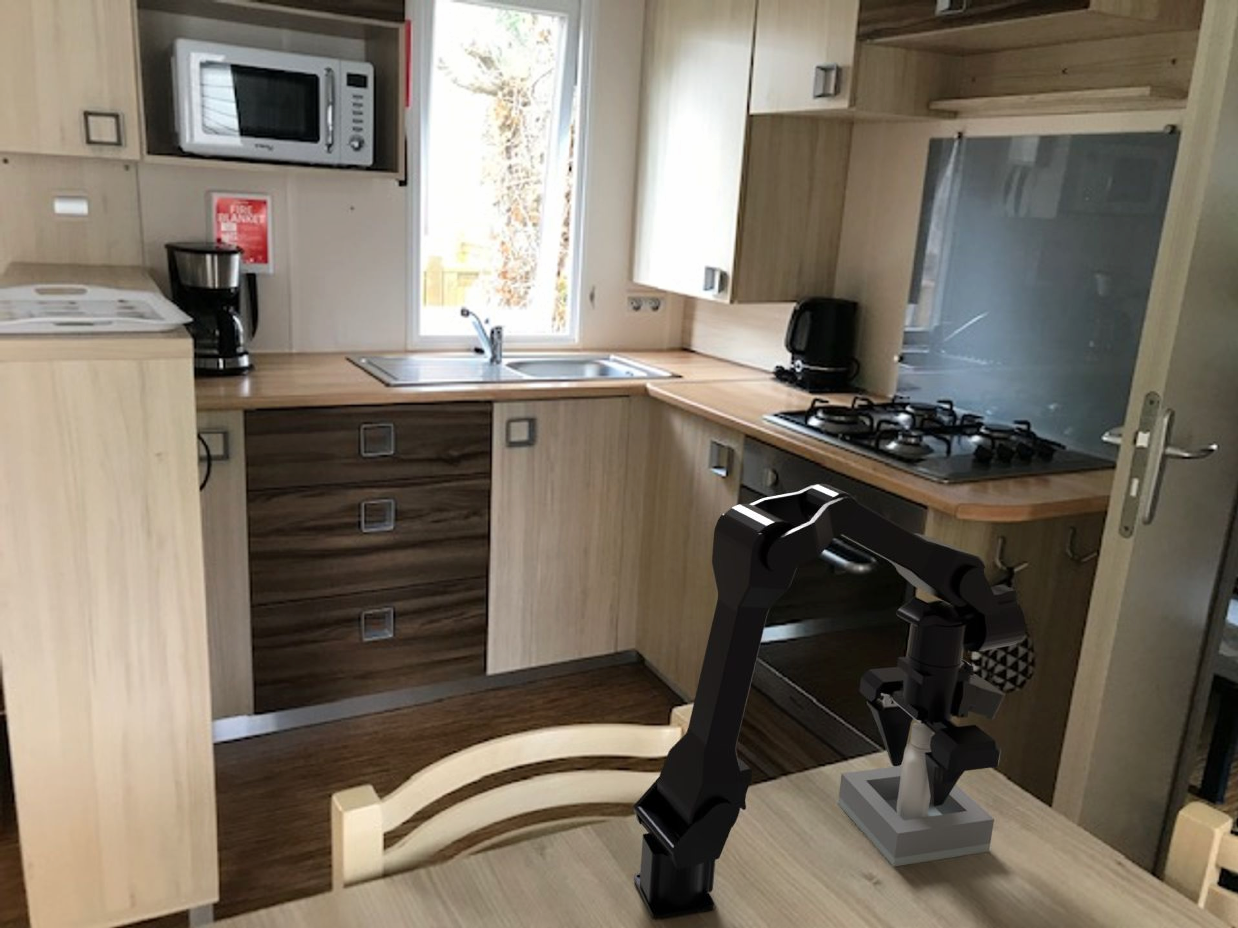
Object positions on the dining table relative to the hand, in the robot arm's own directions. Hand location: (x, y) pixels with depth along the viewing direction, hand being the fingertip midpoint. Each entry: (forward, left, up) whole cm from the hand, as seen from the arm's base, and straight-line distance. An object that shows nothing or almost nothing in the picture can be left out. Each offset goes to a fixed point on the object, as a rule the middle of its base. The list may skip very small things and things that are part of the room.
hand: (916, 784), depth 114 cm
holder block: (0, 0, -5) cm, 5 cm away
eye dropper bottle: (0, 0, -4) cm, 4 cm away
